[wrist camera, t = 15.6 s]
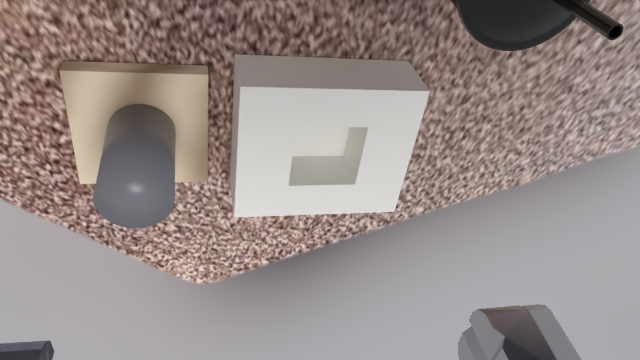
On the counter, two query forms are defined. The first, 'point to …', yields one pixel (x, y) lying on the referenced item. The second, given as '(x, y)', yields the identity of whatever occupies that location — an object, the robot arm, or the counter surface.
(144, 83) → the pad
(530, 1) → the drinking cup
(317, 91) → the block
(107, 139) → the grey cylinder
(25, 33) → the counter surface
